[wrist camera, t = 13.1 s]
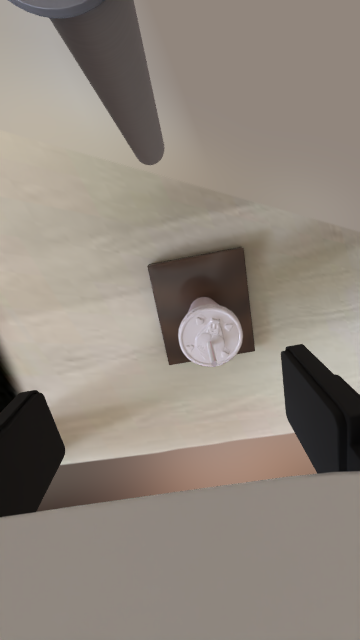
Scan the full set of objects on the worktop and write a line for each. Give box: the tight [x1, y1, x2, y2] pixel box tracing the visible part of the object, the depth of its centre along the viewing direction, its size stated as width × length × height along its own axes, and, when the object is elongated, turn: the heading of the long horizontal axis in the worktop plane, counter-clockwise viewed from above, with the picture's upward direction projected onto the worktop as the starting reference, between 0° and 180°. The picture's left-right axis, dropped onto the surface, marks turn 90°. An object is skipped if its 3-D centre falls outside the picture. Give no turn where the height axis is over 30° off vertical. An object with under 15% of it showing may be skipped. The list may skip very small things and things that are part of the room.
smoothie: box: [178, 297, 243, 367], centre depth 30 cm, size 6×6×14 cm
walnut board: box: [148, 247, 255, 365], centre depth 37 cm, size 14×12×2 cm
